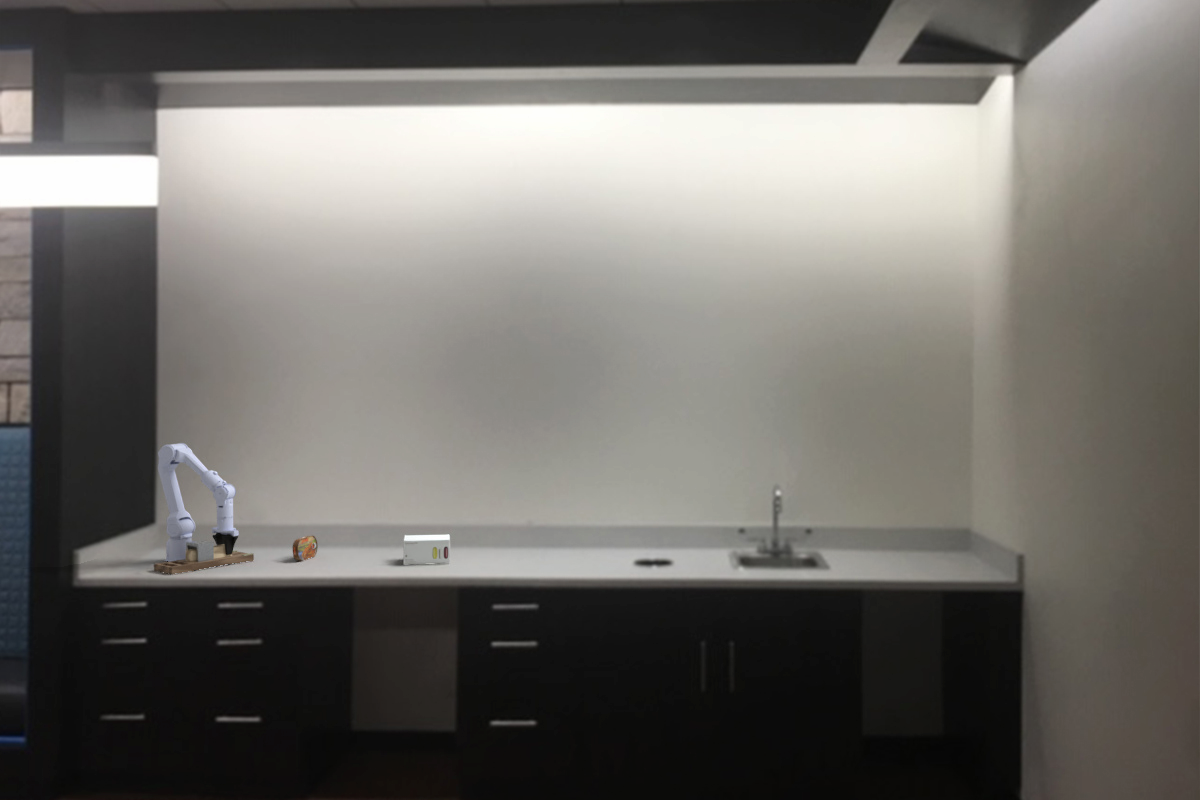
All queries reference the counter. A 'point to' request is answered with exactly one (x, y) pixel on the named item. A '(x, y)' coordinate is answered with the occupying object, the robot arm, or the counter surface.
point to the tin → (304, 548)
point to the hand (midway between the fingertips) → (225, 553)
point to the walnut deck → (201, 563)
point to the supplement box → (426, 549)
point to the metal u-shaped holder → (202, 549)
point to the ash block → (218, 553)
